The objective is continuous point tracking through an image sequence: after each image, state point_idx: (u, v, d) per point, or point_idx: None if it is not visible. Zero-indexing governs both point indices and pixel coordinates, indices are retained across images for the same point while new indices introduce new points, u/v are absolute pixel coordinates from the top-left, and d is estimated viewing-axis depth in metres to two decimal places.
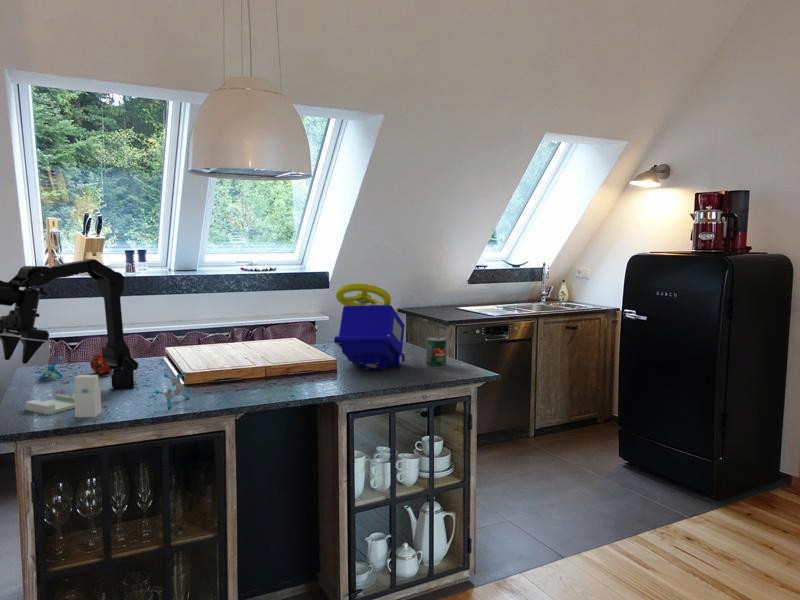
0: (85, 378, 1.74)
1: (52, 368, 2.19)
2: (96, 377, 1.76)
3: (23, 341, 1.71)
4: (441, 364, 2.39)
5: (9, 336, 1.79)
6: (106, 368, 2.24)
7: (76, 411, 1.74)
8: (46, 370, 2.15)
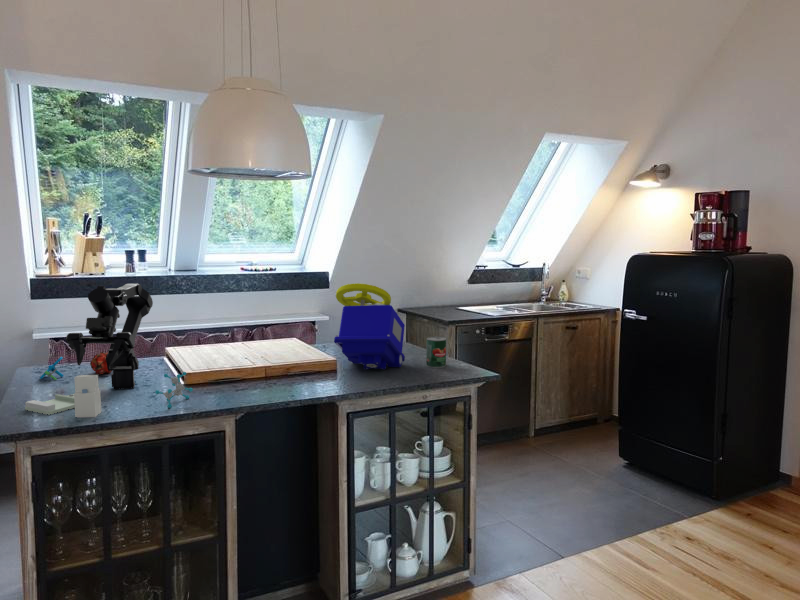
0: (85, 378, 1.74)
1: (52, 368, 2.19)
2: (96, 377, 1.76)
3: (119, 341, 1.85)
4: (441, 364, 2.39)
5: (81, 345, 1.86)
6: (106, 368, 2.24)
7: (76, 411, 1.74)
8: (46, 370, 2.15)
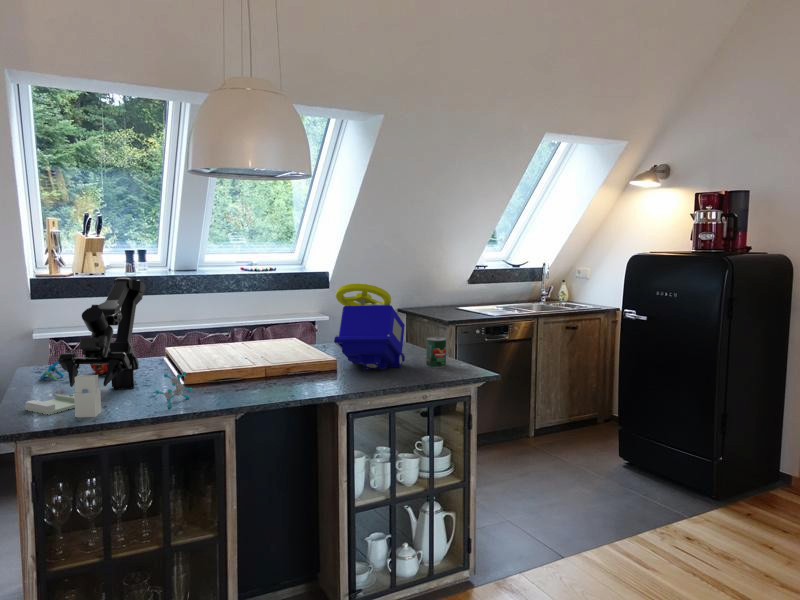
0: (85, 378, 1.74)
1: (53, 368, 2.19)
2: (96, 377, 1.76)
3: (113, 362, 1.79)
4: (441, 364, 2.39)
5: (74, 365, 1.80)
6: (106, 368, 2.24)
7: (76, 411, 1.74)
8: (47, 370, 2.15)
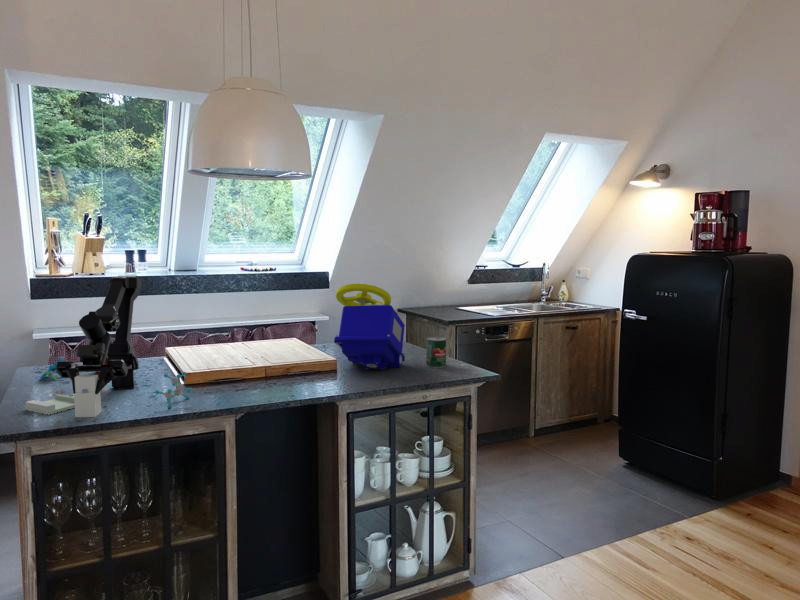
0: (85, 378, 1.74)
1: (53, 368, 2.19)
2: (96, 377, 1.76)
3: (105, 370, 1.77)
4: (441, 364, 2.39)
5: (77, 373, 1.79)
6: None
7: (76, 411, 1.74)
8: (47, 370, 2.15)
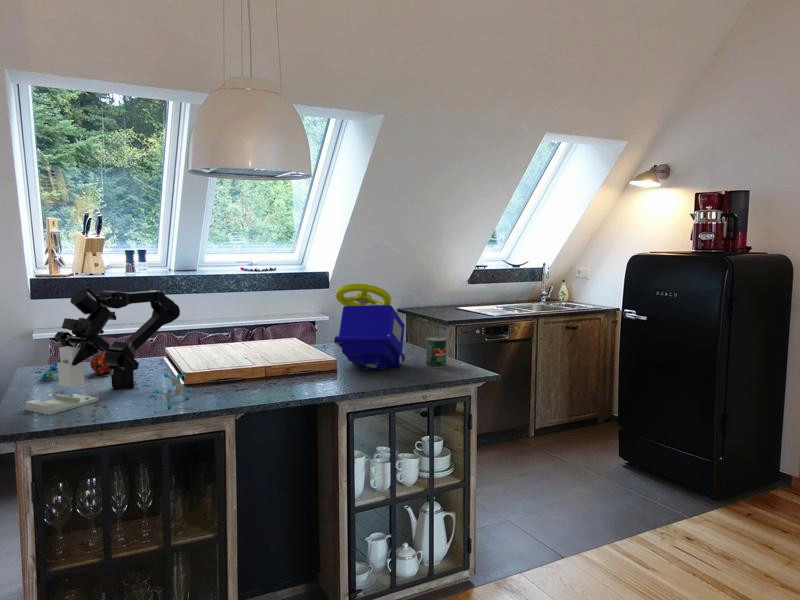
0: (65, 349, 1.86)
1: (54, 368, 2.19)
2: (75, 349, 1.86)
3: (83, 343, 1.86)
4: (441, 364, 2.39)
5: (70, 344, 1.92)
6: (106, 368, 2.24)
7: (59, 379, 1.88)
8: (47, 370, 2.15)
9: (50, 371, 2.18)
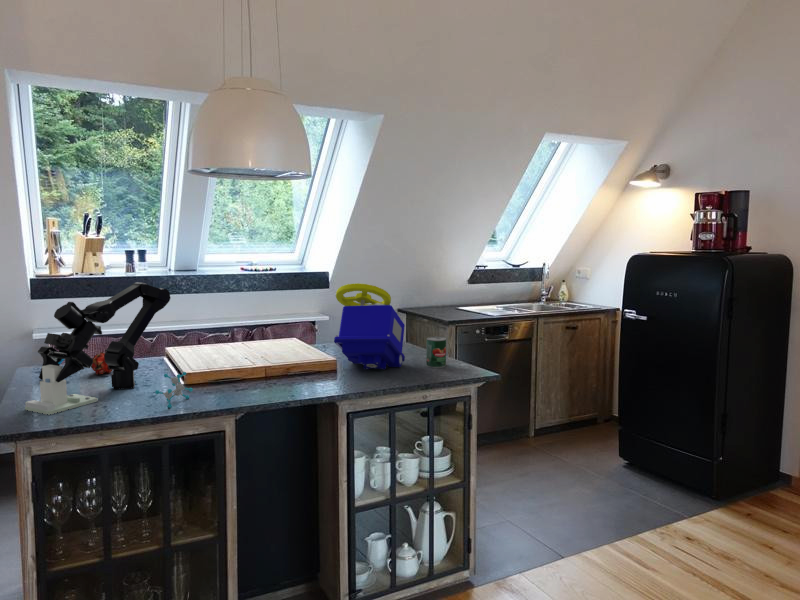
0: (48, 368, 1.82)
1: None
2: (58, 368, 1.82)
3: (68, 359, 1.82)
4: (441, 364, 2.39)
5: (52, 359, 1.88)
6: (106, 368, 2.24)
7: (41, 398, 1.83)
8: None
9: None
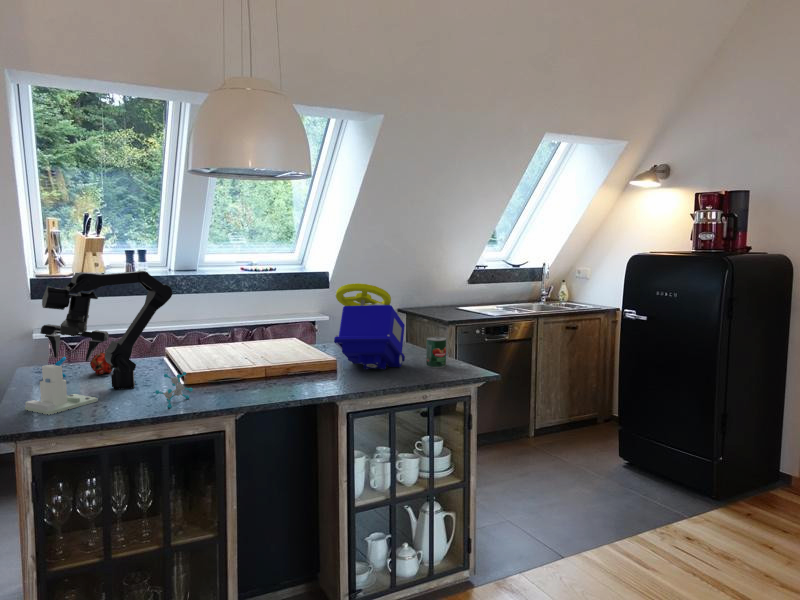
0: (48, 368, 1.82)
1: None
2: (58, 368, 1.82)
3: (93, 343, 1.94)
4: (441, 364, 2.39)
5: (56, 335, 1.94)
6: (106, 368, 2.24)
7: (41, 398, 1.83)
8: None
9: None
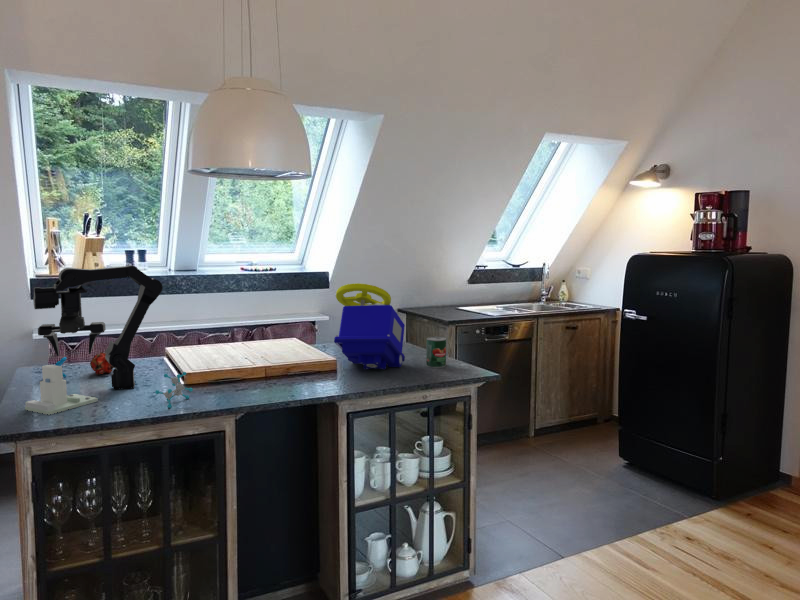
0: (48, 368, 1.82)
1: None
2: (58, 368, 1.82)
3: (94, 335, 1.96)
4: (441, 364, 2.39)
5: (53, 334, 1.95)
6: (106, 368, 2.24)
7: (41, 398, 1.83)
8: None
9: None
